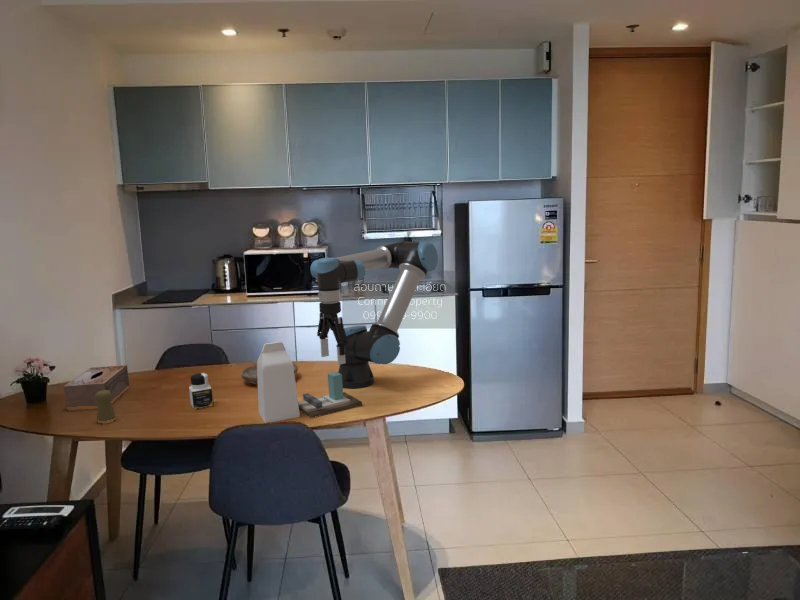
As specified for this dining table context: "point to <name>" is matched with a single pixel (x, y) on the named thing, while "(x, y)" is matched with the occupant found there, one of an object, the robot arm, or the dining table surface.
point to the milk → (276, 384)
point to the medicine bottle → (200, 391)
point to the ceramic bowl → (251, 373)
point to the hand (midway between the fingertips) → (333, 360)
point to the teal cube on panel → (336, 389)
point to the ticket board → (324, 405)
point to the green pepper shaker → (104, 405)
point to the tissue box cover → (96, 385)
